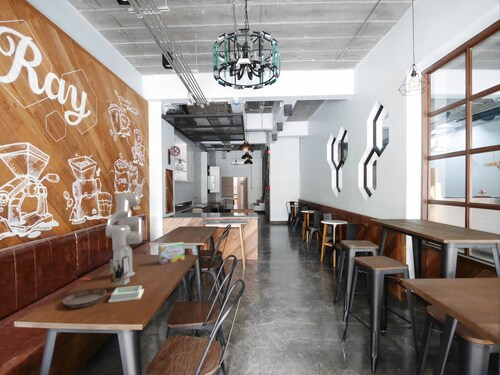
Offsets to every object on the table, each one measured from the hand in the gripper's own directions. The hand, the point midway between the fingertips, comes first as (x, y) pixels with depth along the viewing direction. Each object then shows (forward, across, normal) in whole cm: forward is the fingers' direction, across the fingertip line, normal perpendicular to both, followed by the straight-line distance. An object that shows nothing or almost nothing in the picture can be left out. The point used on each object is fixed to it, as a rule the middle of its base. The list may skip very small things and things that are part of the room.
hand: (120, 275), depth 167 cm
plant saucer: (+8, +16, -14) cm, 23 cm away
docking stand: (+7, +15, +7) cm, 18 cm away
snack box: (+10, -54, +27) cm, 61 cm away
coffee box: (+5, 0, 0) cm, 5 cm away
